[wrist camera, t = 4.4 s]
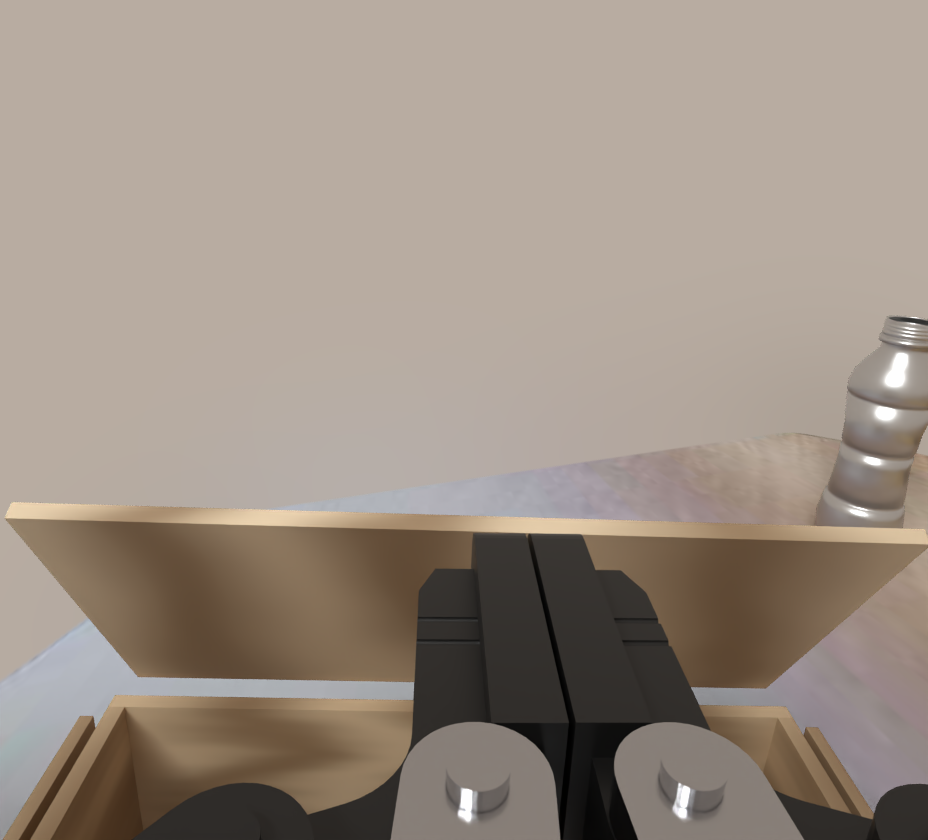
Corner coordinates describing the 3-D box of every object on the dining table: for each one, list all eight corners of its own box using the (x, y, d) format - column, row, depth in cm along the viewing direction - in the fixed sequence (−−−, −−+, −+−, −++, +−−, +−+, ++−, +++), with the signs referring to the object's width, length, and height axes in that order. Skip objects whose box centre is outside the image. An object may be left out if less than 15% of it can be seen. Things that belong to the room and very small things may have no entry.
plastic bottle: (904, 571, 59) (979, 335, 52) (816, 556, 61) (877, 325, 54) (882, 533, 65) (946, 316, 58) (802, 521, 67) (856, 308, 59)
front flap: (4, 518, 15) (11, 502, 16) (138, 676, 23) (141, 664, 23) (931, 544, 16) (924, 529, 17) (765, 688, 24) (762, 676, 24)
